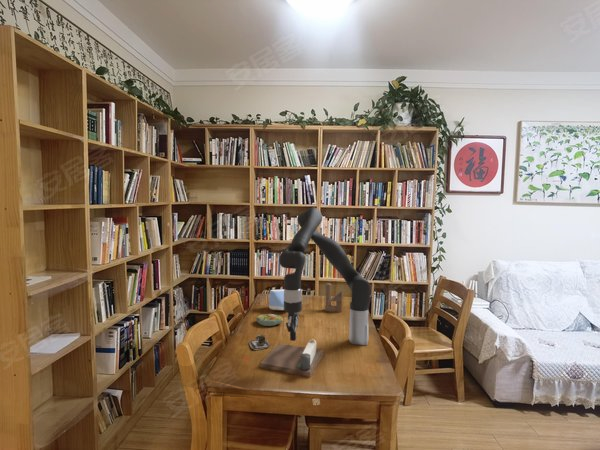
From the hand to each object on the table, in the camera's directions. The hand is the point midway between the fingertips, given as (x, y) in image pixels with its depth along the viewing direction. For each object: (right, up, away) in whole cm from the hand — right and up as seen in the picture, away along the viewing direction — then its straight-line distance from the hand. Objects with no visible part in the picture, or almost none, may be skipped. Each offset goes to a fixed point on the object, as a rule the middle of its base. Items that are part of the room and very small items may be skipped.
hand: (293, 340), depth 130 cm
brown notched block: (+25, -9, +73) cm, 78 cm away
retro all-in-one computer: (-11, -8, +73) cm, 75 cm away
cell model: (-22, -9, +51) cm, 56 cm away
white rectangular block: (+7, -10, +3) cm, 12 cm away
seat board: (0, -12, +7) cm, 13 cm away
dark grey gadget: (-22, -11, +26) cm, 36 cm away
